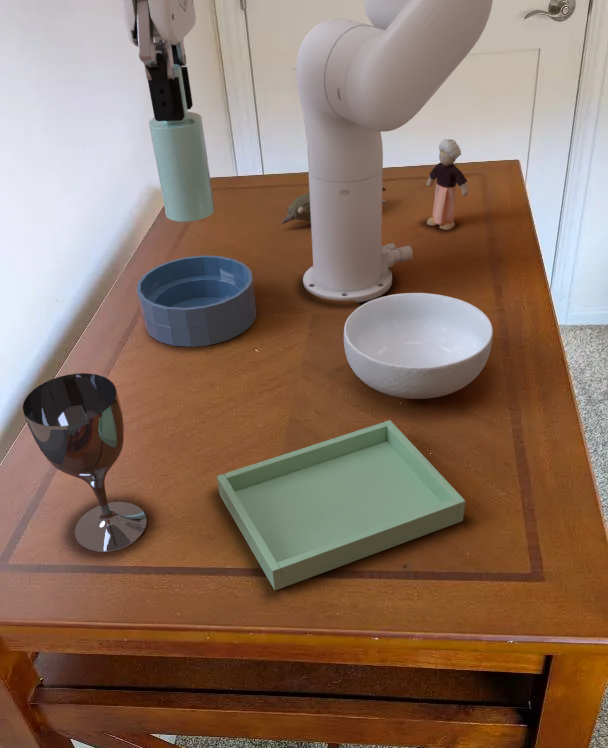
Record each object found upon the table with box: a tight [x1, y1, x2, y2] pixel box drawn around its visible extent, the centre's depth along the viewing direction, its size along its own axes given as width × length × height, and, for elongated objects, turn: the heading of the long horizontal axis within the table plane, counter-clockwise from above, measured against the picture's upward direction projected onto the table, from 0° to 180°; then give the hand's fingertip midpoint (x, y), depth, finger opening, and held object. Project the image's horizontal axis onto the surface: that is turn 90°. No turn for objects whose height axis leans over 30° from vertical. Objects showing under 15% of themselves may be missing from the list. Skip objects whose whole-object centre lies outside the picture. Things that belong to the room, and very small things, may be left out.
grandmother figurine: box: [426, 138, 470, 231], centre depth 117 cm, size 8×4×13 cm, turn 55°
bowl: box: [136, 255, 258, 348], centre depth 102 cm, size 15×15×6 cm
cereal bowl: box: [343, 292, 494, 400], centre depth 89 cm, size 17×17×7 cm
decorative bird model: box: [281, 186, 387, 225], centre depth 125 cm, size 5×20×5 cm, turn 117°
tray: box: [216, 419, 466, 591], centre depth 75 cm, size 20×15×3 cm
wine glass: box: [22, 372, 148, 553], centre depth 71 cm, size 8×8×15 cm
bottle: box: [148, 64, 216, 223], centre depth 86 cm, size 6×6×15 cm
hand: (174, 112), depth 84 cm, fingers closed on bottle, 3 cm apart
